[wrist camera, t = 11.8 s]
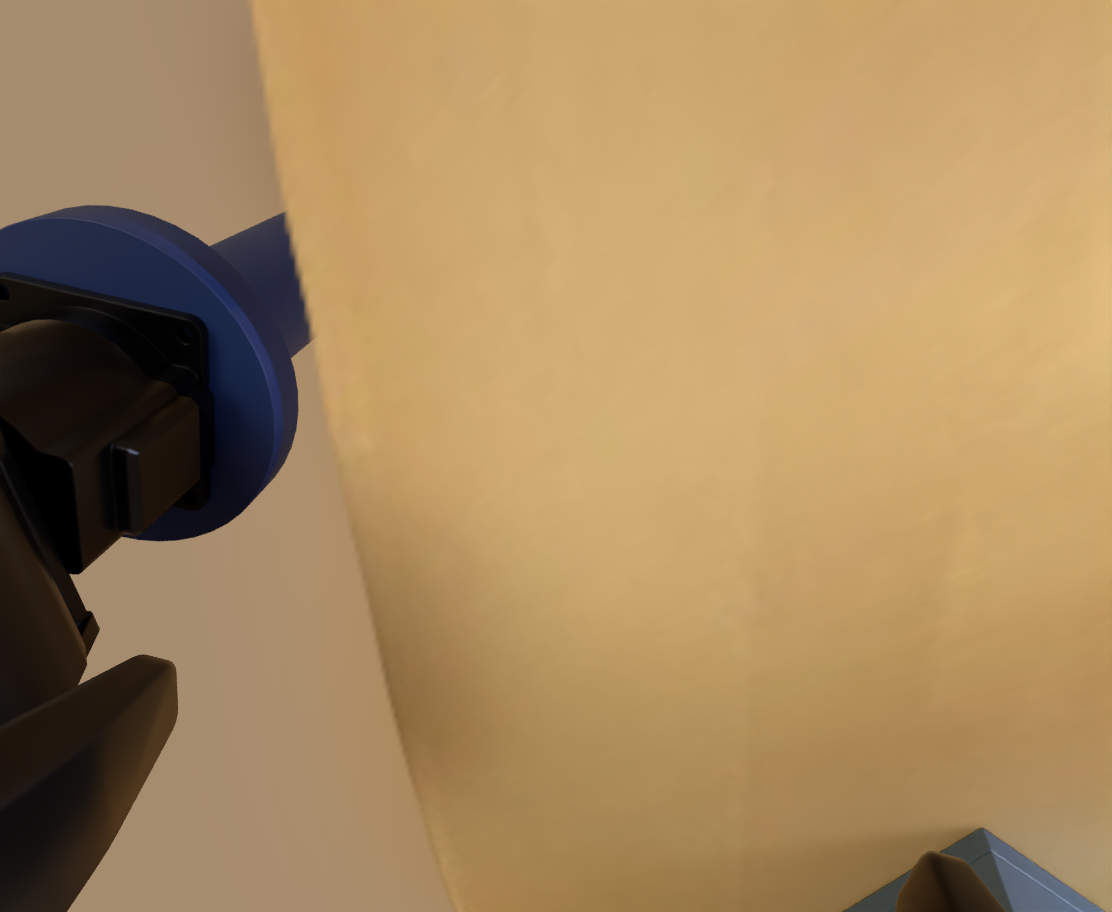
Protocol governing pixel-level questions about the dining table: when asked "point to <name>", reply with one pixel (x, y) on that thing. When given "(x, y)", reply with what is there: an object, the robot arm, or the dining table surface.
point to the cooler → (996, 880)
